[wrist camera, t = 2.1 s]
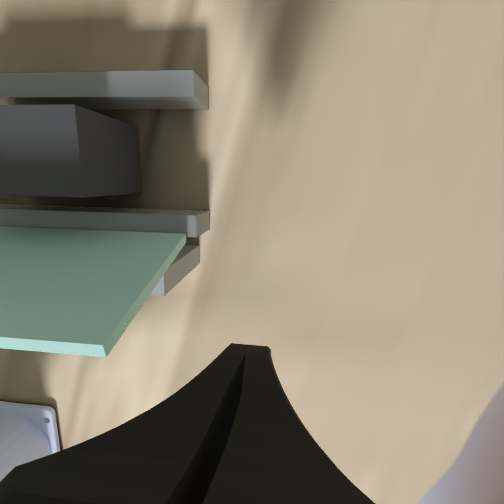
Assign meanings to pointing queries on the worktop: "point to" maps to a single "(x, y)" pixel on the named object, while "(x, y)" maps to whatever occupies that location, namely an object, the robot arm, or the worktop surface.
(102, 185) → the block
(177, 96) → the grey frame
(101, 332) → the cover
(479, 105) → the worktop surface
